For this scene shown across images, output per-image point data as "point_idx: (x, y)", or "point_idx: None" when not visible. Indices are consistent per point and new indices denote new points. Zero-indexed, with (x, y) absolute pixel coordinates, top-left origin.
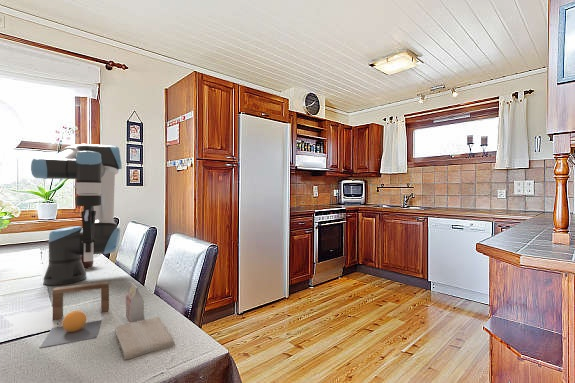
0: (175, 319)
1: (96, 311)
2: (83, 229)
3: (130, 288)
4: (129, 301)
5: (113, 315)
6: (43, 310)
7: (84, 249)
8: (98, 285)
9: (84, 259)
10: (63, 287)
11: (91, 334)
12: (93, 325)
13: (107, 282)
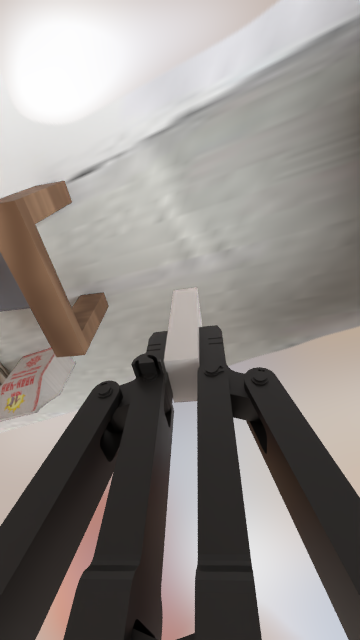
0: (39, 412)
1: (96, 281)
2: (23, 502)
3: (35, 398)
4: (9, 384)
5: None
6: (134, 102)
7: (168, 334)
8: (45, 335)
9: (173, 299)
10: (15, 235)
11: None
12: (3, 299)
13: (72, 352)
